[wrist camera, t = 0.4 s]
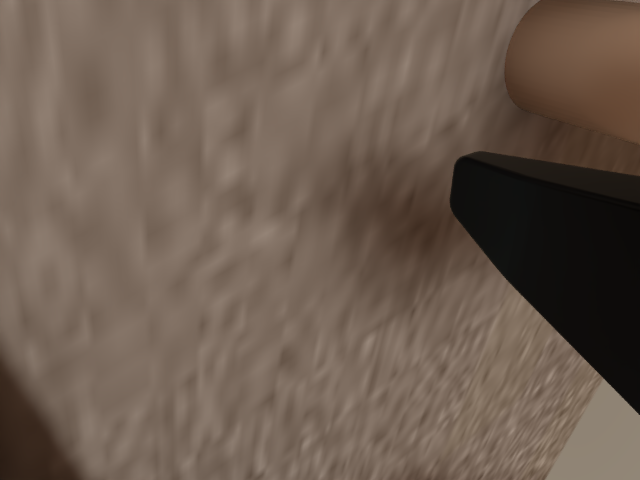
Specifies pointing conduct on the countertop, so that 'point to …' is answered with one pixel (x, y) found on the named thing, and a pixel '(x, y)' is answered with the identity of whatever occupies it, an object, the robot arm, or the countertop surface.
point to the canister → (579, 65)
